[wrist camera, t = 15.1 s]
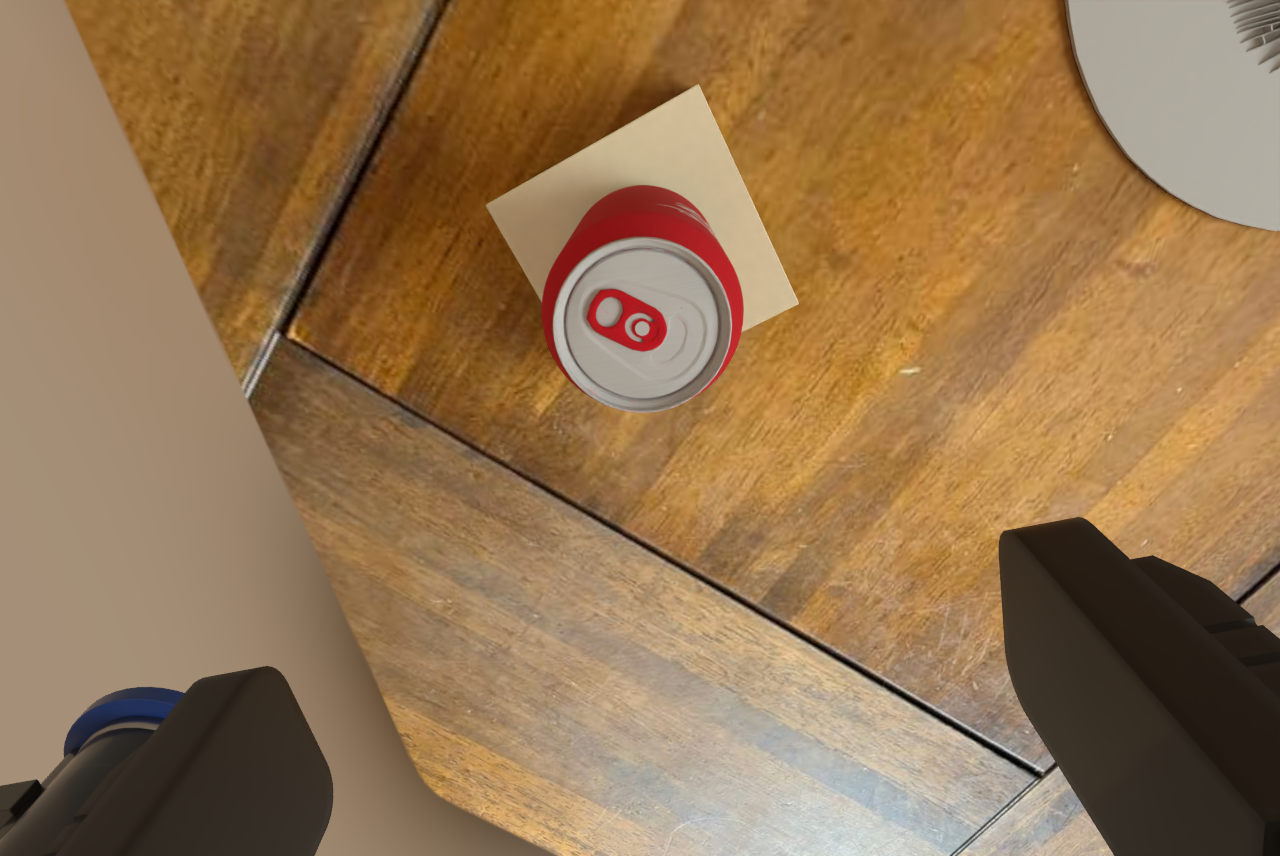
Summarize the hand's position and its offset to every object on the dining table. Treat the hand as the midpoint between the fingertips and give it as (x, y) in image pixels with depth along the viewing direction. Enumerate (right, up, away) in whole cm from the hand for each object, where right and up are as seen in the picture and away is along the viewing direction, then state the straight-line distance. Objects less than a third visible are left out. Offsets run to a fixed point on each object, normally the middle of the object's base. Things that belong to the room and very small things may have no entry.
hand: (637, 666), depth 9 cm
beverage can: (0, +10, +25) cm, 27 cm away
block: (0, +12, +30) cm, 32 cm away
